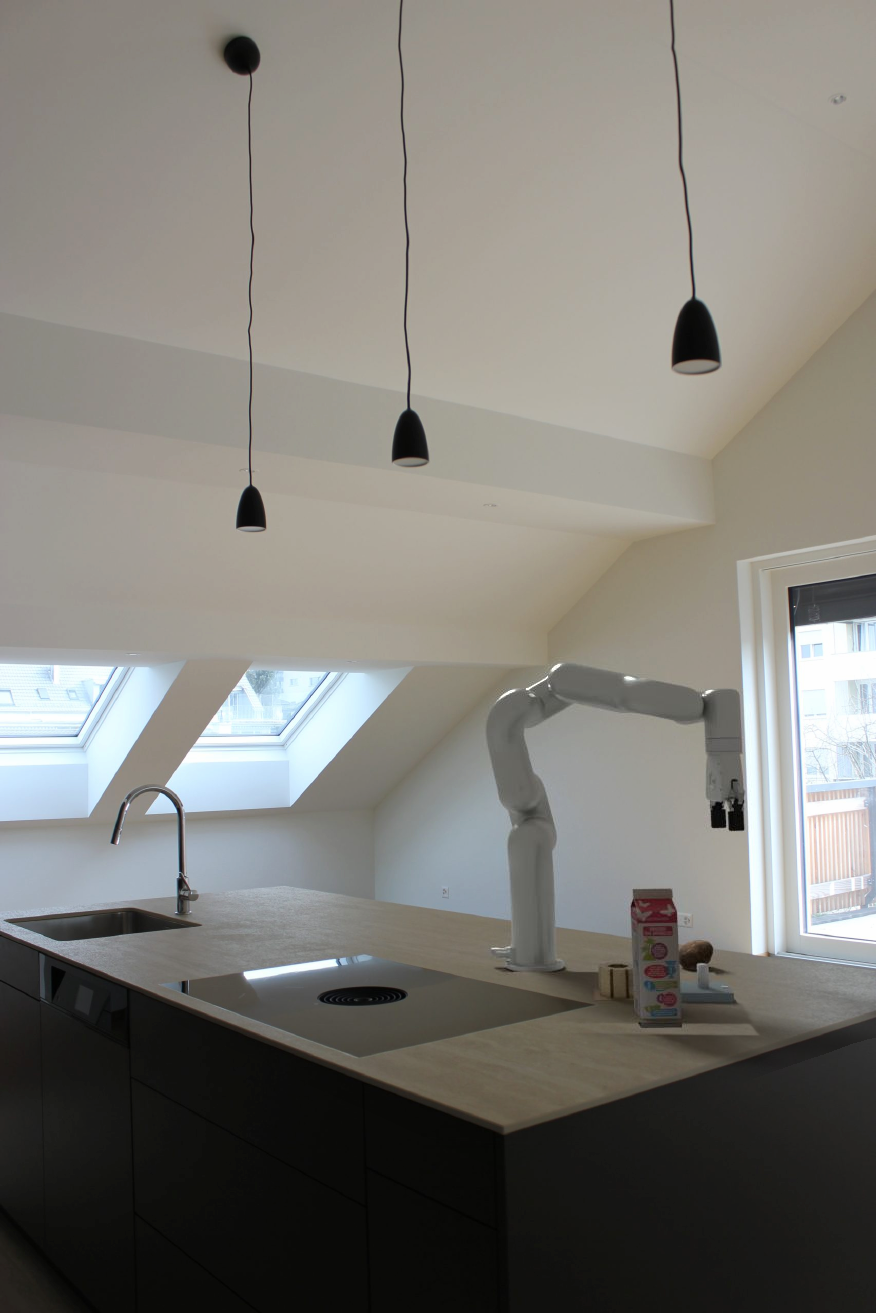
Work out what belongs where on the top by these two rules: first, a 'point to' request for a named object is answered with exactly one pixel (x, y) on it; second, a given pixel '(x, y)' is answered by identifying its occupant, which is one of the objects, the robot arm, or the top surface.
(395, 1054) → the top surface
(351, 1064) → the top surface
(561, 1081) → the top surface
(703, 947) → the brown potato
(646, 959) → the juice carton
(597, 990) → the stand
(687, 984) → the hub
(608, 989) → the ring
